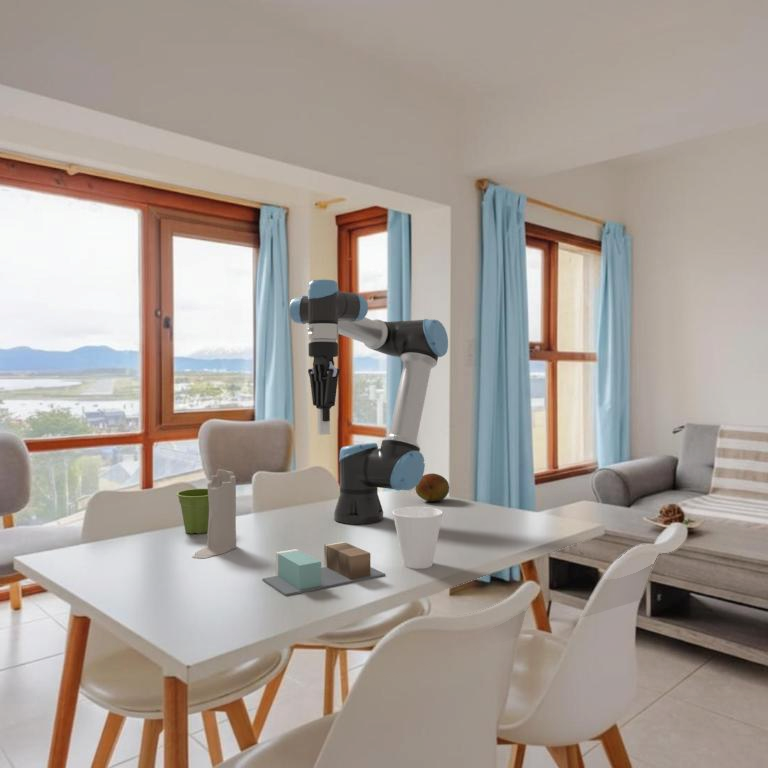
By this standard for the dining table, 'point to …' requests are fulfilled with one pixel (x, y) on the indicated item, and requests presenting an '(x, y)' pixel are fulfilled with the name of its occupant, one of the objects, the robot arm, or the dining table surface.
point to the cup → (417, 534)
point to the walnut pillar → (347, 560)
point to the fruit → (432, 487)
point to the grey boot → (220, 515)
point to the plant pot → (195, 510)
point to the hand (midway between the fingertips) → (323, 434)
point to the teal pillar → (298, 569)
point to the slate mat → (327, 580)
